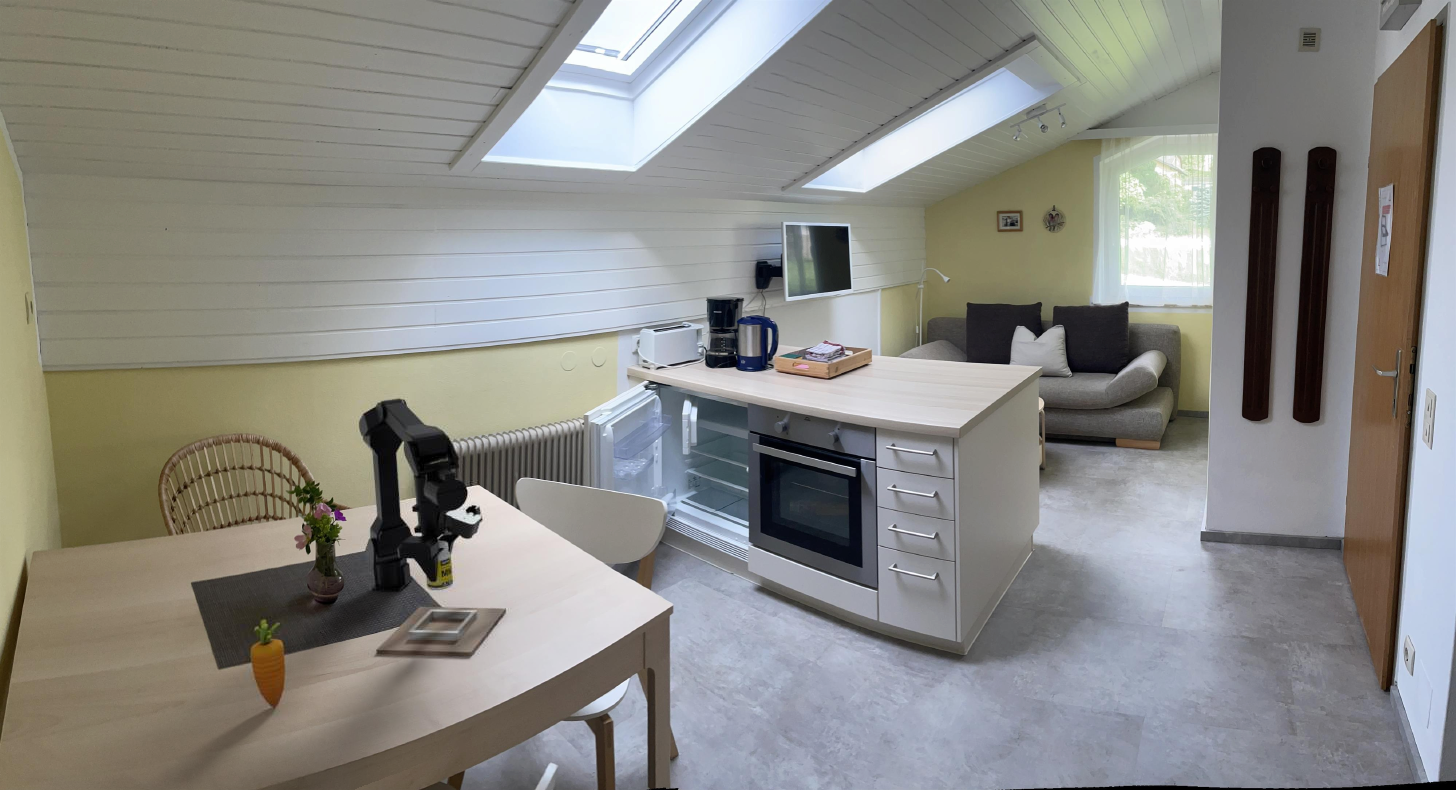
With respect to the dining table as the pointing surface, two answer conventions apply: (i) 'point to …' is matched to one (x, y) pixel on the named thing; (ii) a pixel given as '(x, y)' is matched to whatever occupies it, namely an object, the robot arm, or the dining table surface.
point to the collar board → (443, 631)
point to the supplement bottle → (442, 570)
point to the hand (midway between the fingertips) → (439, 576)
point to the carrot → (268, 664)
